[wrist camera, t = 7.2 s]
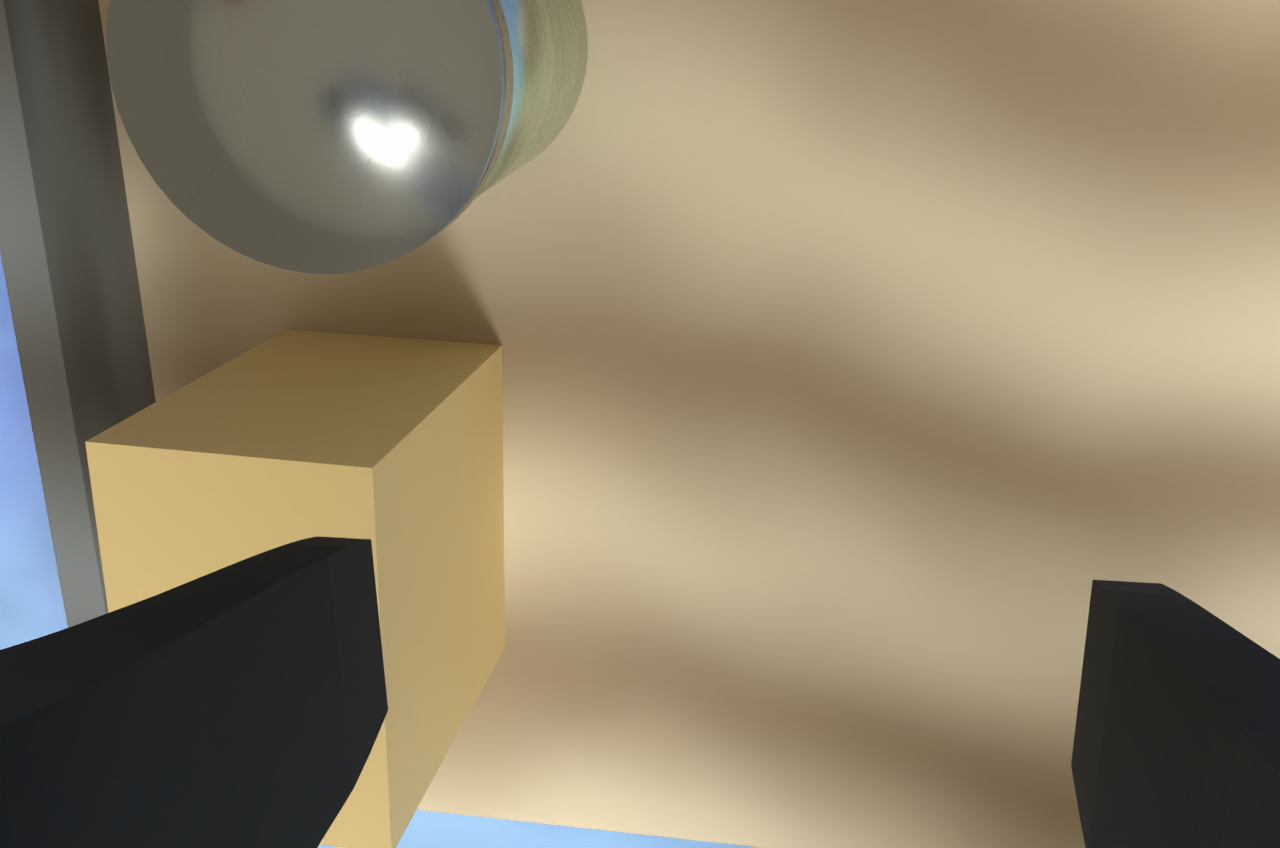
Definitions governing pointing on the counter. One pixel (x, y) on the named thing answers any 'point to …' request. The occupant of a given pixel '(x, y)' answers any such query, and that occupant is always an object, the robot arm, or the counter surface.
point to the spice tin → (339, 114)
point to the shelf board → (769, 388)
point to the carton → (335, 516)
